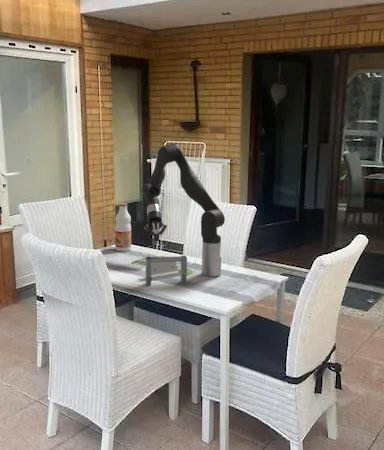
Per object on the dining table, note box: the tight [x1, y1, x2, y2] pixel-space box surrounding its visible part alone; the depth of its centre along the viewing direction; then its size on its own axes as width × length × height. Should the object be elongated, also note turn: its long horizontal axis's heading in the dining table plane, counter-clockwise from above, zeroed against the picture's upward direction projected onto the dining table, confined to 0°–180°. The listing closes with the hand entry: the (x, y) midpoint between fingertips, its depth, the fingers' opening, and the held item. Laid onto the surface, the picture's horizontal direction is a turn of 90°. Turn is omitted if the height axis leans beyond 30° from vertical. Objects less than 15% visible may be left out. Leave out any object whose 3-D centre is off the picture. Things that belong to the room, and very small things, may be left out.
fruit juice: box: [114, 202, 132, 252], centre depth 294 cm, size 9×9×28 cm
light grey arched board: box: [151, 262, 181, 282], centre depth 247 cm, size 17×5×10 cm, turn 125°
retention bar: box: [145, 255, 188, 287], centre depth 234 cm, size 19×4×13 cm, turn 102°
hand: (156, 240), depth 263 cm, fingers closed
